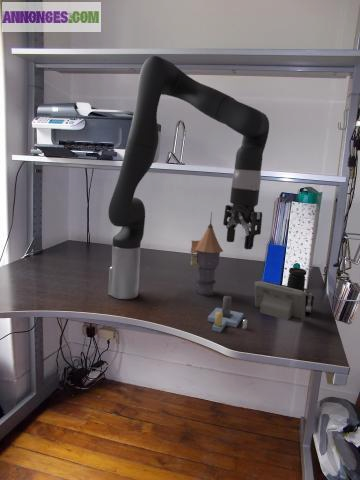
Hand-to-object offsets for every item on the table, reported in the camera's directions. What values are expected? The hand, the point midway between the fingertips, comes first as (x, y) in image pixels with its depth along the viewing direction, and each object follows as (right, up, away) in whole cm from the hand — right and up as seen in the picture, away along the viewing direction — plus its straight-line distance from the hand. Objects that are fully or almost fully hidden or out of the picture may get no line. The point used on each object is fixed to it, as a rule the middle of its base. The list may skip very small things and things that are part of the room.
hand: (238, 245), depth 104 cm
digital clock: (+14, -23, +14) cm, 30 cm away
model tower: (-8, -19, +27) cm, 34 cm away
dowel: (+1, -23, 0) cm, 23 cm away
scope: (+22, -22, +20) cm, 37 cm away
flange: (-4, -22, +3) cm, 23 cm away
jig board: (-5, -23, +5) cm, 24 cm away
